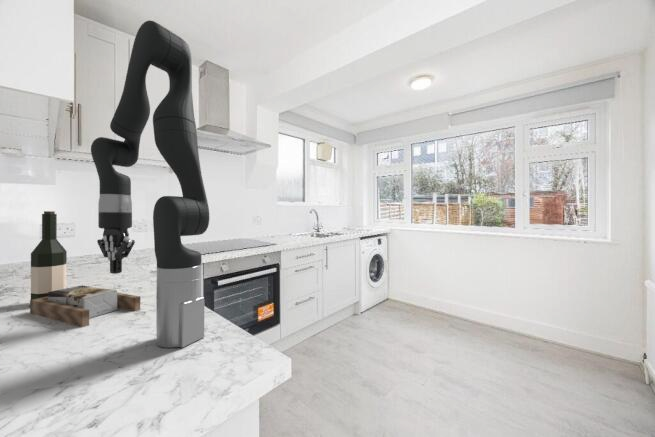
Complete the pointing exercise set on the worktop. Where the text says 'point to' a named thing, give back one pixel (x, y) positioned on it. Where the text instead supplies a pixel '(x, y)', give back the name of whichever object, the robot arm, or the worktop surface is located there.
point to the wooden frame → (76, 309)
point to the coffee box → (87, 299)
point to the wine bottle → (48, 260)
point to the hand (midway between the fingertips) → (115, 273)
